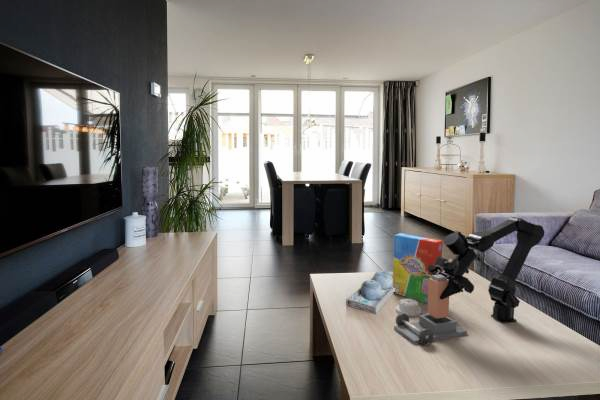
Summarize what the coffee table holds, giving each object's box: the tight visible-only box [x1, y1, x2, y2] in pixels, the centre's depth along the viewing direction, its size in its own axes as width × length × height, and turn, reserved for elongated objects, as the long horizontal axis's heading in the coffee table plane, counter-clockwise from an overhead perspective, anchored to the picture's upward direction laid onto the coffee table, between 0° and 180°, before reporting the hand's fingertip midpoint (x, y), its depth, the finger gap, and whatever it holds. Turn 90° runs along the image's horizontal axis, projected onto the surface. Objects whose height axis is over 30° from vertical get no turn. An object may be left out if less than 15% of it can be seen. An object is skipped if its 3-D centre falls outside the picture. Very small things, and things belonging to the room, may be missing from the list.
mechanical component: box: [395, 297, 422, 317], centre depth 157 cm, size 10×4×10 cm
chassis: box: [393, 313, 468, 345], centre depth 138 cm, size 22×15×5 cm
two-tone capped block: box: [427, 274, 450, 319], centre depth 138 cm, size 5×5×14 cm
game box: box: [392, 232, 444, 304], centre depth 171 cm, size 21×6×27 cm, turn 42°
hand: (435, 296), depth 138 cm, fingers closed on two-tone capped block, 5 cm apart
